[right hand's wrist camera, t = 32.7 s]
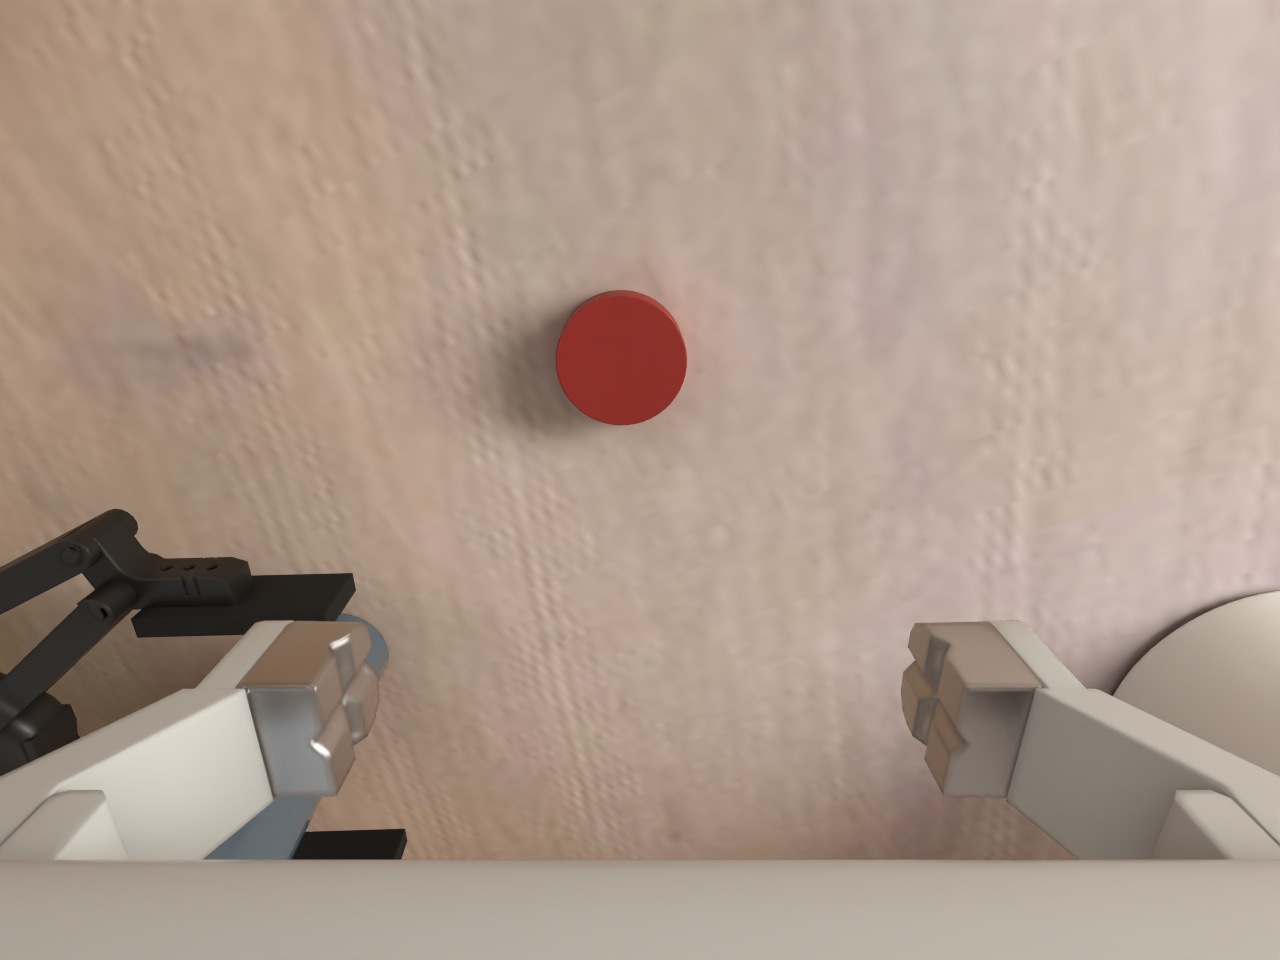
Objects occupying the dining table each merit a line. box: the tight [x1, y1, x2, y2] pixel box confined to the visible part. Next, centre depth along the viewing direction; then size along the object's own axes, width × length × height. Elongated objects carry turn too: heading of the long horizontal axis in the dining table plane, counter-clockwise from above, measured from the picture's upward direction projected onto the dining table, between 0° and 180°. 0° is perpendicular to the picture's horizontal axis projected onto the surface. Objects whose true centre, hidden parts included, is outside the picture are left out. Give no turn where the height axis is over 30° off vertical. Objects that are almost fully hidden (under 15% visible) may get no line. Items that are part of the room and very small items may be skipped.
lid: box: [556, 290, 687, 425], centre depth 27 cm, size 5×5×2 cm
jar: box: [202, 614, 388, 860], centre depth 26 cm, size 4×4×15 cm
